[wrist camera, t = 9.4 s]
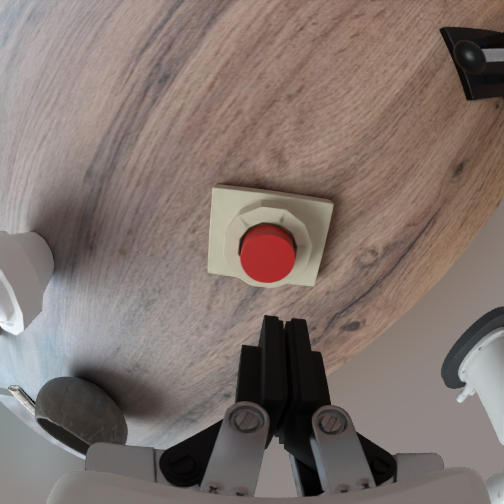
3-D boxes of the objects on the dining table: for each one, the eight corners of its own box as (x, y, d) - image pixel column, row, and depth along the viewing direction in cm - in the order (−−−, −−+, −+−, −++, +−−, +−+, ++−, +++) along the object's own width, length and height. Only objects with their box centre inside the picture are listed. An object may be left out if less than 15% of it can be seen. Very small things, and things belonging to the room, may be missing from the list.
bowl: (134, 384, 36) (107, 448, 25) (139, 427, 44) (123, 476, 32) (47, 344, 35) (12, 394, 24) (68, 396, 43) (46, 438, 31)
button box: (330, 199, 23) (340, 210, 20) (312, 278, 26) (317, 299, 23) (215, 183, 23) (207, 192, 20) (210, 265, 26) (202, 284, 23)
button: (296, 228, 21) (299, 238, 19) (288, 272, 23) (289, 286, 21) (245, 221, 21) (243, 230, 19) (240, 267, 23) (237, 279, 21)
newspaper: (69, 432, 56) (66, 438, 53) (54, 425, 59) (51, 430, 57) (19, 385, 47) (15, 391, 45) (9, 381, 50) (5, 386, 48)
